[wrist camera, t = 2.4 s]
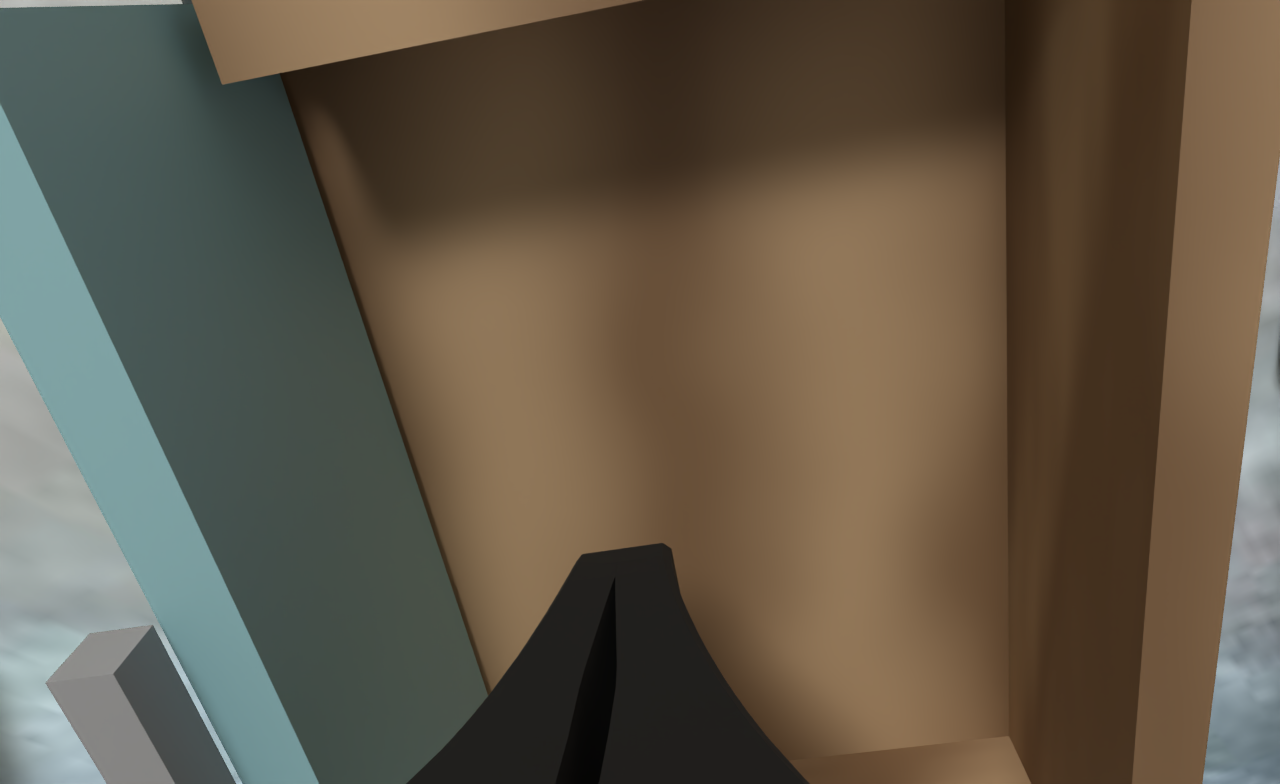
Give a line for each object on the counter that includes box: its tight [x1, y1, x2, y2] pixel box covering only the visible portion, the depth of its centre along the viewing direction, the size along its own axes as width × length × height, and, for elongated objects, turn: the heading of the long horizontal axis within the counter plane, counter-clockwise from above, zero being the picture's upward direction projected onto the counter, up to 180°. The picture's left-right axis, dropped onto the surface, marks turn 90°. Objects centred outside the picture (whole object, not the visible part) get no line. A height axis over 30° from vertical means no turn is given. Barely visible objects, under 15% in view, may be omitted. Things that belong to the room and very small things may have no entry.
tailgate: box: [0, 4, 488, 784], centre depth 13 cm, size 2×18×7 cm, turn 10°
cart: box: [182, 0, 1280, 784], centre depth 15 cm, size 13×20×7 cm, turn 10°
